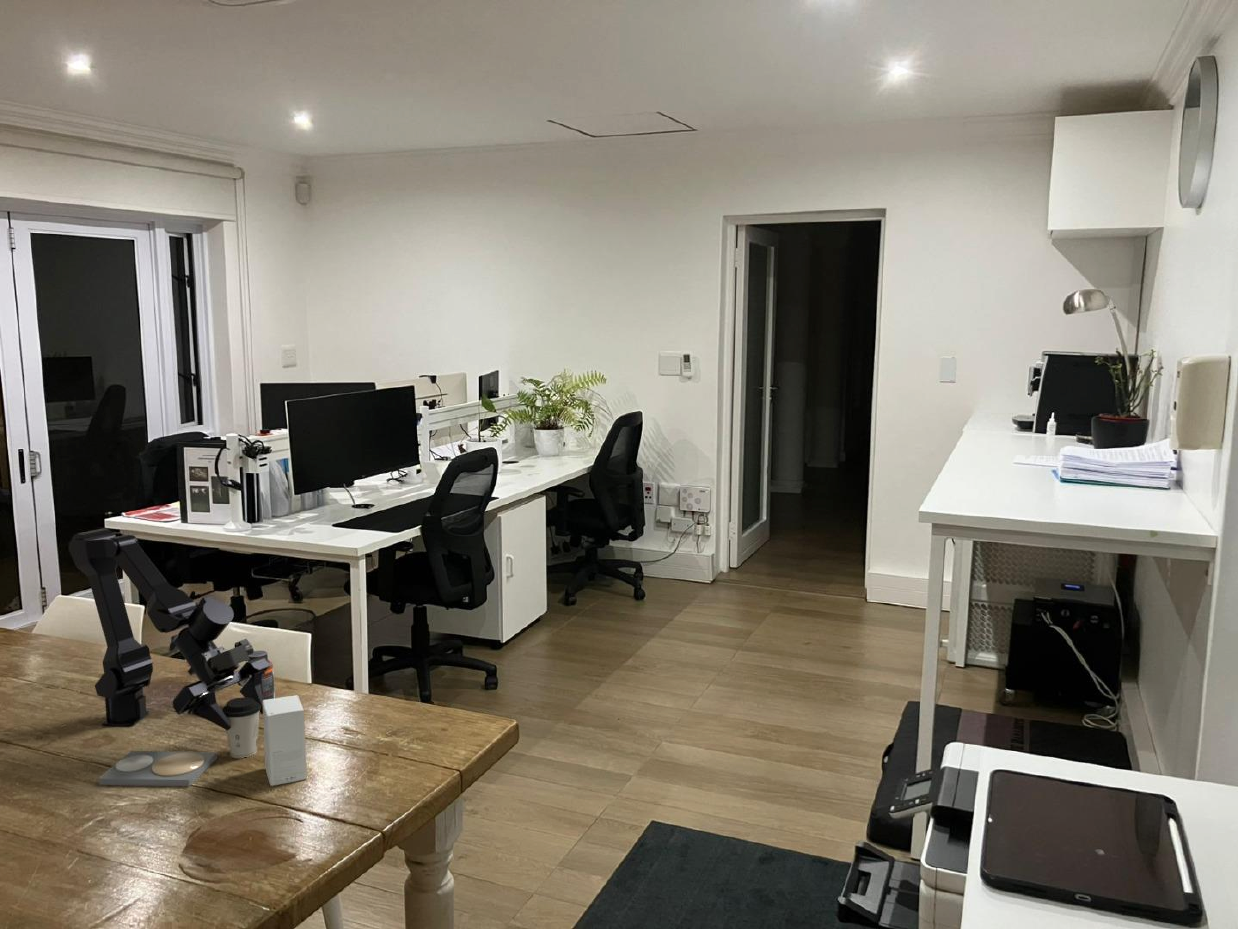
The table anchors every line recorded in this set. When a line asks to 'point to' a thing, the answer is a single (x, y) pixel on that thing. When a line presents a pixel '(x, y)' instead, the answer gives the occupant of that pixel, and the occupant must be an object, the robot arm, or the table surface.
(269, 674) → the supplement bottle
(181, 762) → the slate board
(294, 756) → the small box
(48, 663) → the table surface
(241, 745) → the coffee cup
